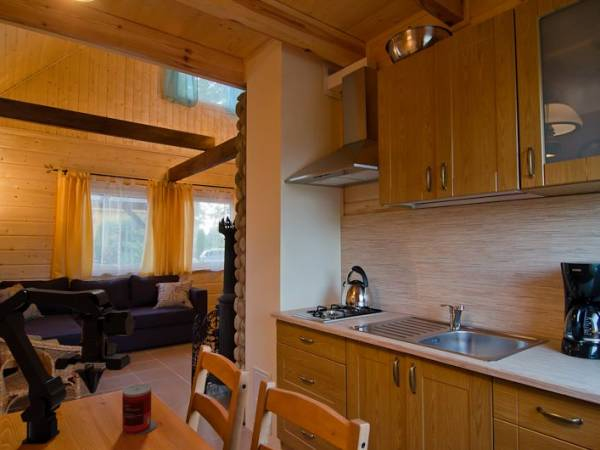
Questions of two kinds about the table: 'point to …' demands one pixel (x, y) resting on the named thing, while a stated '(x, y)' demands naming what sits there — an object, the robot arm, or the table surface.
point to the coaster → (150, 428)
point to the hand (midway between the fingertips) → (92, 393)
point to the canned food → (136, 408)
